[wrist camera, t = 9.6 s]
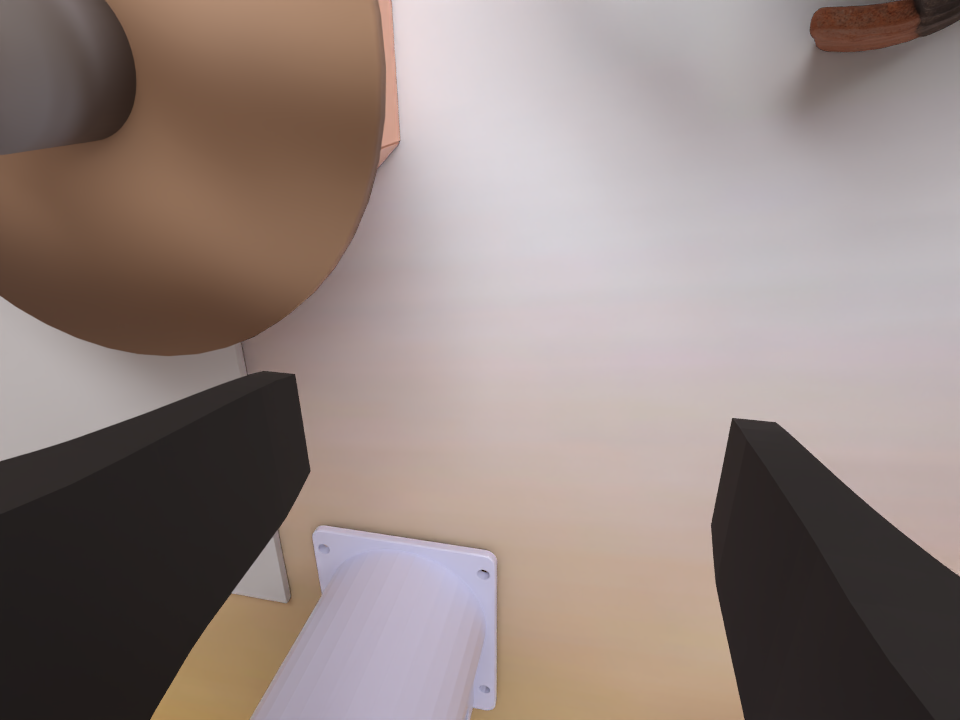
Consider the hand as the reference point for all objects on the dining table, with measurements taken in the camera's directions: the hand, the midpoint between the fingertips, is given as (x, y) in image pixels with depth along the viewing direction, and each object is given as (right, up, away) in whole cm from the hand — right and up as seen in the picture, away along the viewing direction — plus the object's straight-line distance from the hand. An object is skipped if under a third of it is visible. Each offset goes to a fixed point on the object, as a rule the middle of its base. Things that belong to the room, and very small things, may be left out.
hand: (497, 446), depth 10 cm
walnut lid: (-10, +9, +4) cm, 14 cm away
